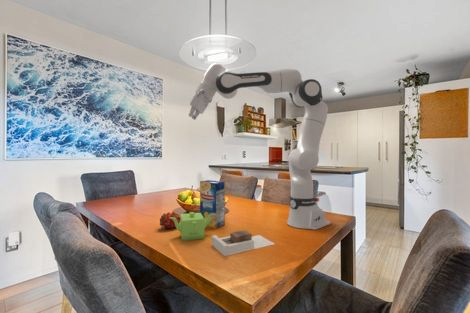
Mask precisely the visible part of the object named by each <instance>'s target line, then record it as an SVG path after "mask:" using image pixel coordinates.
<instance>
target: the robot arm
mask: <svg viewBox="0 0 470 313" xmlns="http://www.w3.org/2000/svg"><path fill="white" fill-rule="evenodd" d="M244 88H260V89H261V90H263V91H264V92H265V93H267V94H280V93H287V92H288V93H289V94H288V95H289V96H290V99H291V102H292V103H293V105H294V106H295V107H297V108H304V116H303V118H302V121H301V125H300V127H299V130H298V134H297V144H296V148H294V149H292V150H291V152H289V154H288V156H287V160H288V170H289V177H290V196H289V205H290V206H289V212H288V218H287V222H286V224H287V225H289V226H290V227H292V228H296V229H306V230H319V229H321V228H323V227H324V228H325V227H326V226H328V225H331V221H329V220H328V219H327V218H326V212H325V211H324V209H322V208H321V207H320V206H318V204H316V202H317V203H319V201H320V198H319V197H316V196H315V197H314V181H313V180H314V179H313V178H312V177H313V176H312V173H311V170H313V169H315V168H316V167H317V166H318V165H319V162H320V161H319V158H320V157H319V151H320V144H321V139H322V135H323V132H324V128H325V125H326V122H327V119H328V118H327V117H328V111H329V107H328V104H327V103H326V102H324V101H323V94H322V93H323V92H322V85H321V83H320V82H319V81H318V80H317V79H313V78H312V79H311V78H309V79H306V80H302V73H300V71H299V70H297V69H291V68H287V69H286V68H285V69H284V68H283V69H282V68H281V69H275V70H274V69H273V70H269V71H260V72H258V71H257V72H244V73H236V72H233V71H230V70H227V68H226V66H224V65H223V64H220V63H212V64H211V65H210V66H209V67H208V69H207V70H206V72H205V73H204V75H203V79H202V80H201V82H199V85H198V87H197V88H196V91H195V94H194V96H193V97H192V99H191V101H190V104H189V105H190V106H191V107H190V110H189V113H188V117H190V118H192V120H194V121H195V120H197V118H198V116H199V115H200V114H201V115H202V114H203V113H204V112H205V110H206V109H207V107H208V106H209V104H210V103H212V101H213V98H214V96H215V94H216V93H218V94H219V95H220V96H221V97H222V98H224V99H229V100H230V99H232V98H234V97H235V96H236V95H237V92H238V89H244Z"/></svg>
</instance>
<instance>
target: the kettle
mask: <svg viewBox="0 0 470 313" xmlns="http://www.w3.org/2000/svg"><path fill="white" fill-rule="evenodd" d="M179 215H180V216H179V217H180V219H181V220H180V222H179V223H178V221H177V219H176V218H175V217H170V219H172V220H173V221H174V223H175V226H176V227H175V228H176V229H177V231H178V232H180V236H181V241H182V242H183V241H184V242H186V241H192V240H193V241H194V240H202V239H203V240H204V239H205V231H206V230H205V229H206V227H208V226H207V225H208V223H209V221H210V220H211V217H208V218H207V219H206V220H205V221H204V218H203V216H202V214H201V213H200V212H193V211H191V212H189V213H180V214H179Z"/></svg>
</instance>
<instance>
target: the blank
mask: <svg viewBox="0 0 470 313" xmlns="http://www.w3.org/2000/svg"><path fill="white" fill-rule="evenodd" d="M229 236H230V241H225V243H226V244H227V245H228V244H233V243H238V242H242V241H247V240H252V233H250V232H248V231H247V230H245V229H243V230H238V231H233V232H230V235H229Z"/></svg>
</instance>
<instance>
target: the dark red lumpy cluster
mask: <svg viewBox="0 0 470 313" xmlns="http://www.w3.org/2000/svg"><path fill="white" fill-rule="evenodd" d="M179 215H180V214H179V213H175V212H174V211H173V212H171V213H170V211H168V212H166V213H163V214H162V215H160V216H161V217H160V218H159V226H160V227H161V228H164V229H165V230H168V229H174V228H176V226H175V223H174V221H173V220H172V219H170V217H175V218H176V219H177V221H178V223H179V224H180V223H181V219H180V216H179Z"/></svg>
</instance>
